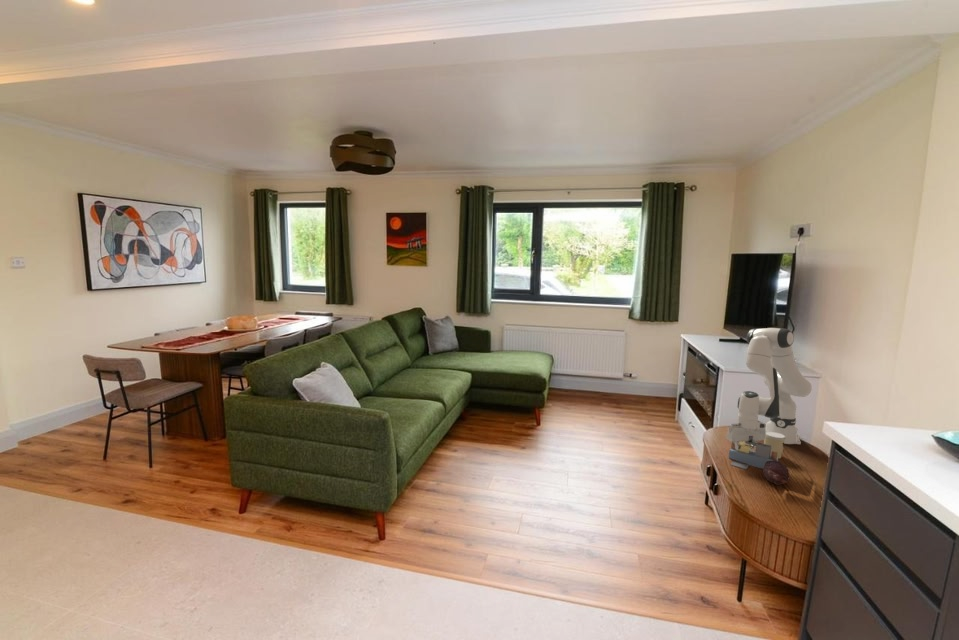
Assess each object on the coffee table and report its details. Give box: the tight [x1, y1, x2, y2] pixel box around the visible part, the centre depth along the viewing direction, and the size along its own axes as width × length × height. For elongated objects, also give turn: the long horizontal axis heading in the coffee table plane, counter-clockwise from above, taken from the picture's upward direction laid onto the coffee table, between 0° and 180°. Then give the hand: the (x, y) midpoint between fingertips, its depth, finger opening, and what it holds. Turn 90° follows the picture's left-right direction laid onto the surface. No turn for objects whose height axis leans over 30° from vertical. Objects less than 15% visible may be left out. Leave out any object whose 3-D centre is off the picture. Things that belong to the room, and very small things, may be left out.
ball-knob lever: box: [744, 436, 764, 447], centre depth 215 cm, size 2×8×4 cm, turn 47°
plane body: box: [728, 441, 779, 470], centre depth 216 cm, size 8×20×11 cm, turn 47°
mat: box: [730, 460, 750, 470], centre depth 213 cm, size 6×7×1 cm
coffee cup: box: [763, 432, 785, 459], centre depth 225 cm, size 9×9×12 cm
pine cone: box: [762, 460, 790, 486], centre depth 196 cm, size 18×10×10 cm, turn 159°
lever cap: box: [738, 441, 752, 454], centre depth 218 cm, size 5×5×4 cm
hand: (744, 448), depth 218 cm, fingers closed on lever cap, 7 cm apart
